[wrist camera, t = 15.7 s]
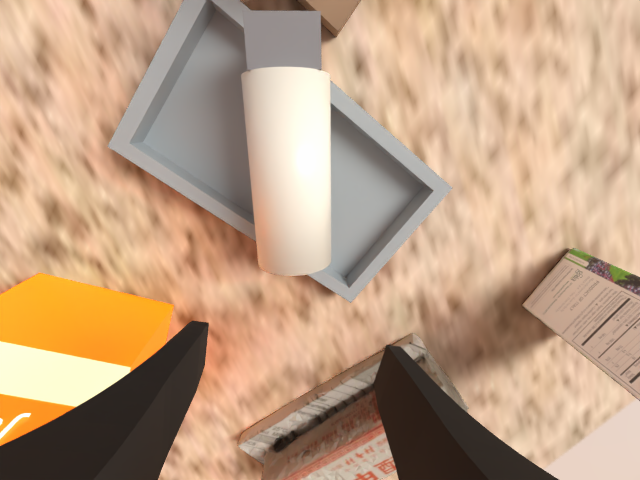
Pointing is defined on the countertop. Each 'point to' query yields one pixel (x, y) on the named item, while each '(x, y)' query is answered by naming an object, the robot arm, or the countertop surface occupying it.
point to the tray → (232, 151)
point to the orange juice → (68, 346)
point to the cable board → (332, 12)
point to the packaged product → (336, 426)
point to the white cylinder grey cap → (288, 140)
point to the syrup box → (594, 313)
